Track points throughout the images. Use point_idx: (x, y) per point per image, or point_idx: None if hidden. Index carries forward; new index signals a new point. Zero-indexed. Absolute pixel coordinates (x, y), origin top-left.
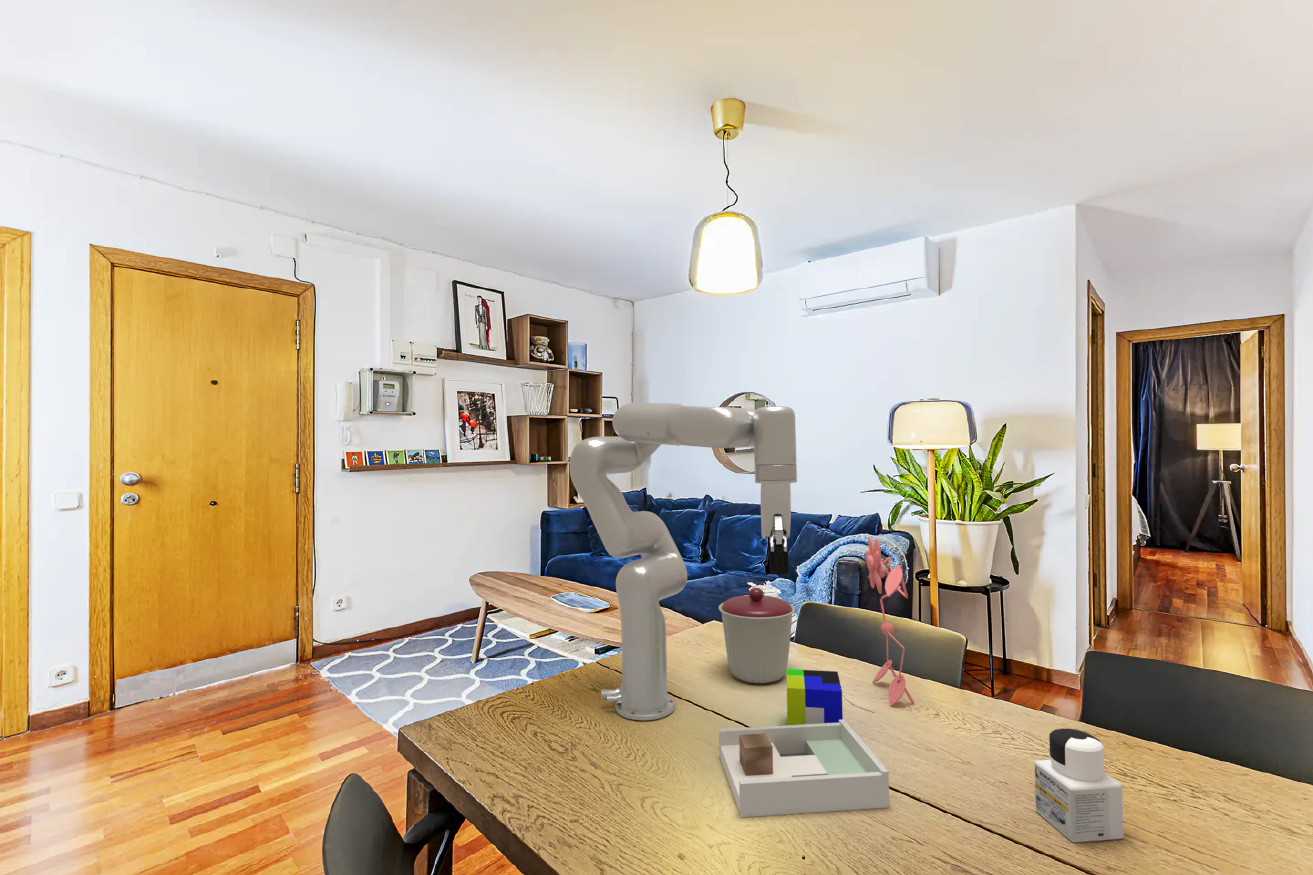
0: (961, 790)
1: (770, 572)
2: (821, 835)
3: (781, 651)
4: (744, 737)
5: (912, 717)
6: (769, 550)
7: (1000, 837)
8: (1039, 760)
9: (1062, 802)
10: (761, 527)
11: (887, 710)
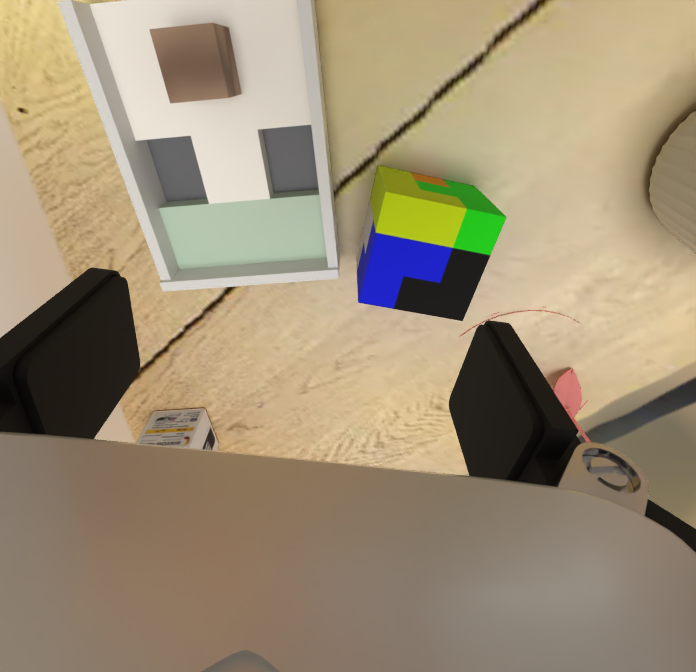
0: (237, 361)
1: (88, 270)
2: (86, 153)
3: (684, 234)
4: (200, 36)
5: (435, 378)
6: (508, 382)
7: (146, 359)
8: None
9: (152, 434)
10: (118, 589)
11: (465, 355)
